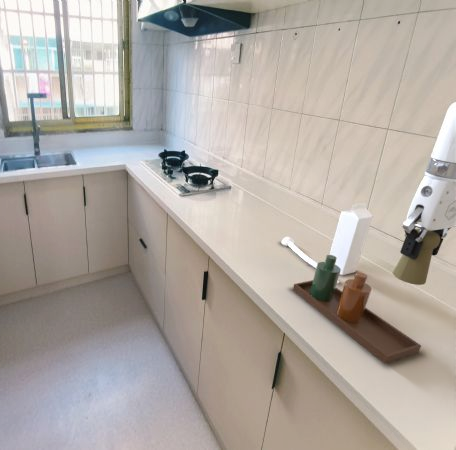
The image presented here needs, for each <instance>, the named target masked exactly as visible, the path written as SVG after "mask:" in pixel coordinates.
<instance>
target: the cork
mask: <svg viewBox="0 0 456 450" xmlns="http://www.w3.org/2000/svg"><path fill="white" fill-rule="evenodd" d="M415 229H416V230H417V232H418V234H419V232H420V230H421V229H420V228H415ZM421 241H422V242H423V245H422V247H421V250H420V252H419V255H418V257H417V259H411V258H409V257H407V256H405V255H403V254H401V257H400V259H399V261H398V262H397V264H396V266H395V267H394V269H393V271H392V276H394V277H395V278H396V279H398V280H400V281H402V282H405V283H408V284H411V285H415V286H416V285H417V286H421V285H425V284H426V282H427V279H428V274H429V270H430V264H431V261H432V260H431V259H432V256H433V255H432V252H433V249H435V248H436V247H437V246H438V245H439V243H440V236H439V235H438V234H437V233H435V232H433V231H429V230H428V231H427V232H426V234H425V236H424V237H423V239H422V240H421Z"/></svg>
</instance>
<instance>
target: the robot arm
mask: <svg viewBox="0 0 456 450" xmlns="http://www.w3.org/2000/svg"><path fill="white" fill-rule="evenodd" d="M420 223H421V224H420ZM401 227H402V229H403V230H404V237H405V238H404V240H403V243H402V246H401V248H400V251H399V252H400V254H401V255H405V256H407V257H409V258H411V259H417V257H418V255H419V252H420V250H421V247H422V245H423V242H422V241H421V240H422V239H423V237H424V236H425V234H426V232H427V231H428V230H429V231H433V232H435V233H437V234H438V235H439V236H440V243H439V245H438V246H437V247H436V248H435V249H433V252H432V256H438V253H439V251H440V249H441V247H442V244H443V242H444V238H446V237H447V236H448V231H449V230H451V229H452V228H455V227H456V101H455V102H453V103H452V104H450V105H449V107H448V109H447V111H446V113H445V116H444V120H443V122H442V125H441V127H440V130H439V132H438V135H437V138H436V141H435V143H434V146H433V149H432V152H431V154H430V158H429V159H428V163H427V165H426V168H425V171H424V177H423V178H422V180H421V182H420V184H419V186H418V187H417V190H416V192H415V194H414V196H413V198H412V201H411V204H410V206H409V209H408V211H407V215H406V219H405V220H404V221H403V222H402V224H401ZM416 229H421V230H420V232H419V234H418V232H417V230H416Z"/></svg>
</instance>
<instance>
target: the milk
mask: <svg viewBox="0 0 456 450" xmlns="http://www.w3.org/2000/svg"><path fill="white" fill-rule="evenodd" d="M373 217H374V216H373V215H372V213H371V212H370V211H369V210H368V209H367V202H363V203H356V204H353V205H352V206H351V209H348V210H342V211H341V212H340V215H339V219H338V223H337V226H336V230H335V233H334V237H333V241H332V244H331V248H330V250H329V251H330V252H329V255H333V256H335V257H336V258H337V259H336V263H335V265H337V266H338V267H339V268H340V269H341V271H340V274H339V276H340V275H341V276H345V275H348V274H352V273H356V272H357V268H358V265H359V262H360V259H361V256H362V253H363V249H364V246H365V242H366V240H367V237H368V233H369V230H370V227H371V224H372V221H373Z"/></svg>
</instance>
